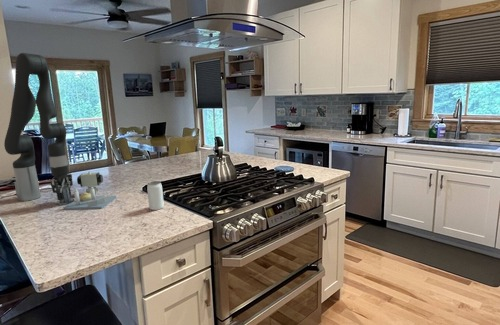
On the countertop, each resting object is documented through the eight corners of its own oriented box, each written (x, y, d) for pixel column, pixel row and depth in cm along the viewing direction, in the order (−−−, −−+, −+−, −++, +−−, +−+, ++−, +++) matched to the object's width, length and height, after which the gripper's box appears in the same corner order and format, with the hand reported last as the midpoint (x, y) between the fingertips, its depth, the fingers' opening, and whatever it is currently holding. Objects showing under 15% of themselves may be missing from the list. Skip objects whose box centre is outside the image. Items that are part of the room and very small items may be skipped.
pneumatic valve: (102, 193, 170) (99, 172, 167) (79, 195, 167) (75, 173, 165) (105, 190, 175) (102, 169, 172) (82, 192, 173) (79, 171, 170)
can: (150, 211, 141) (148, 185, 138) (148, 207, 146) (145, 182, 144) (165, 208, 143) (162, 183, 141) (162, 204, 149) (159, 180, 147)
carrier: (63, 209, 146) (60, 192, 145) (81, 198, 162) (79, 182, 160) (101, 208, 146) (99, 191, 144) (116, 197, 162) (114, 181, 160)
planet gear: (52, 205, 153) (50, 189, 151) (62, 200, 160) (59, 185, 159) (68, 205, 153) (66, 189, 151) (77, 199, 160) (75, 184, 159)
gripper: (60, 161, 160) (65, 193, 163) (41, 168, 145) (48, 202, 149) (75, 161, 159) (80, 193, 163) (57, 167, 145) (63, 202, 149)
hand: (64, 197), depth 156 cm, fingers open, 6 cm apart
